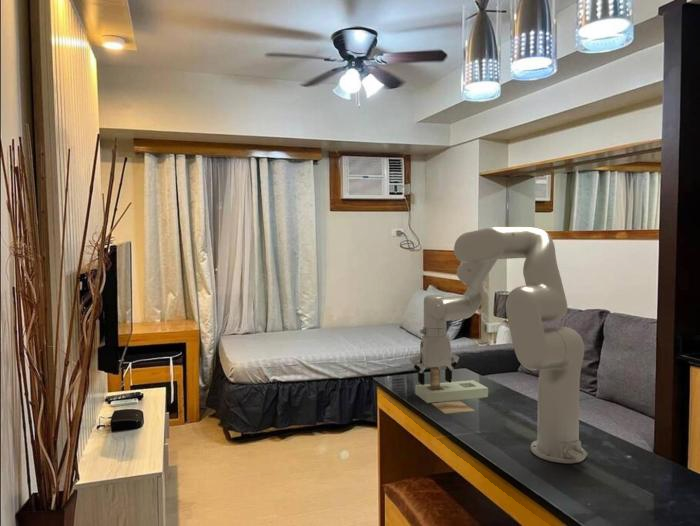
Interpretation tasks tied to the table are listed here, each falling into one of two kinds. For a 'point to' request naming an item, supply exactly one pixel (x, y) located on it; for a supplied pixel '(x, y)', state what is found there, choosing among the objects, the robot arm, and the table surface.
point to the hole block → (452, 391)
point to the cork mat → (452, 407)
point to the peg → (434, 379)
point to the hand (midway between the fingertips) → (435, 382)
